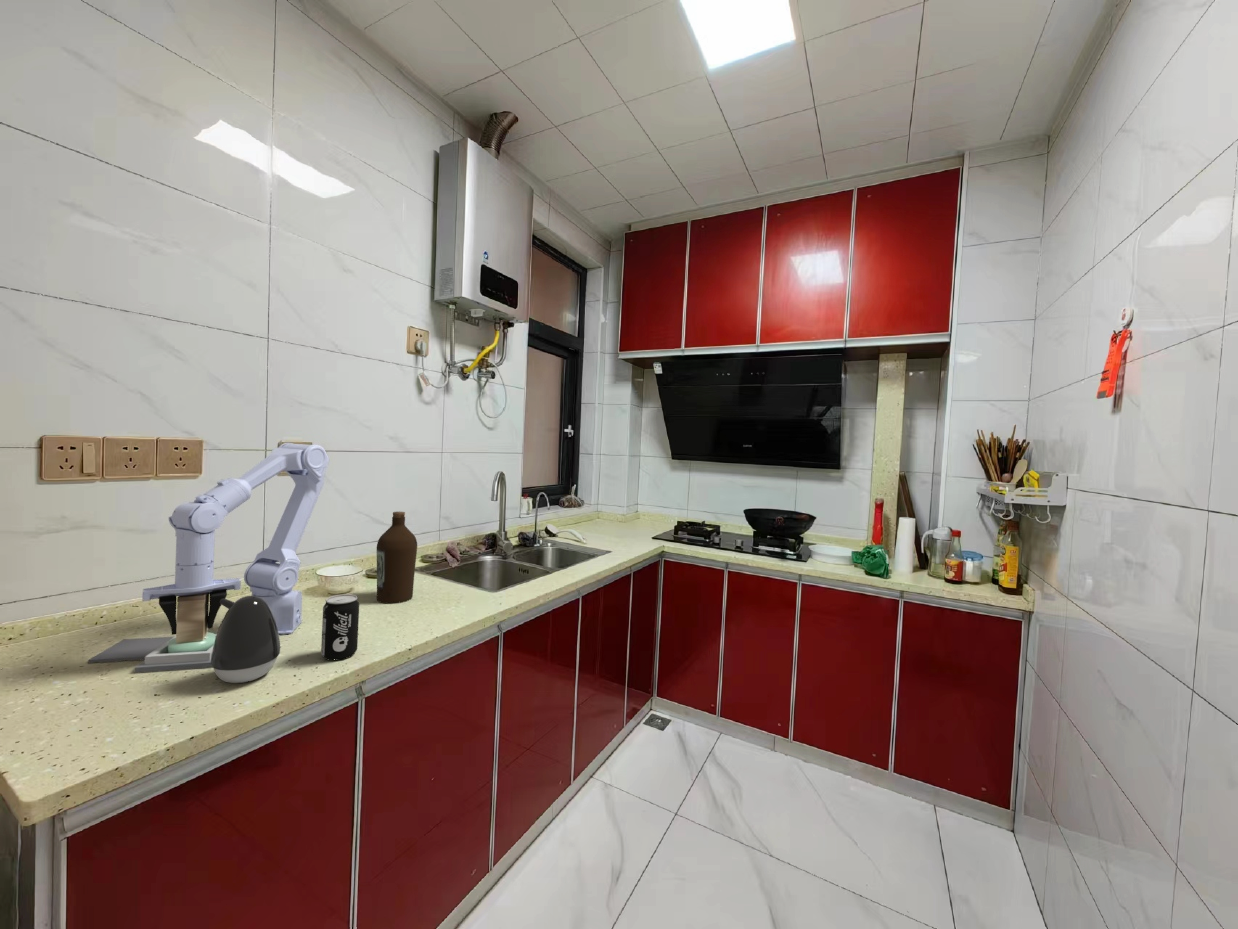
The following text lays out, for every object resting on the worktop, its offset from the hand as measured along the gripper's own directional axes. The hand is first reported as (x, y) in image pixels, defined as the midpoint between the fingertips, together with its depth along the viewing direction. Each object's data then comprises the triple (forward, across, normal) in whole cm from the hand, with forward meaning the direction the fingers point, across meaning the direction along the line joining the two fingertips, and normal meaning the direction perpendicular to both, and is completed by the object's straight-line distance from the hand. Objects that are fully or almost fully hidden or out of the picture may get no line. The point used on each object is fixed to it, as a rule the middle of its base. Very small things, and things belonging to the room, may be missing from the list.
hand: (192, 629), depth 95 cm
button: (+4, 0, 0) cm, 4 cm away
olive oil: (+6, -44, -16) cm, 47 cm away
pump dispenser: (+6, -7, +16) cm, 18 cm away
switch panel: (+5, 0, 0) cm, 5 cm away
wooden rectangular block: (+2, 0, 0) cm, 2 cm away
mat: (+5, +8, -9) cm, 13 cm away
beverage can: (+6, -23, +15) cm, 28 cm away
